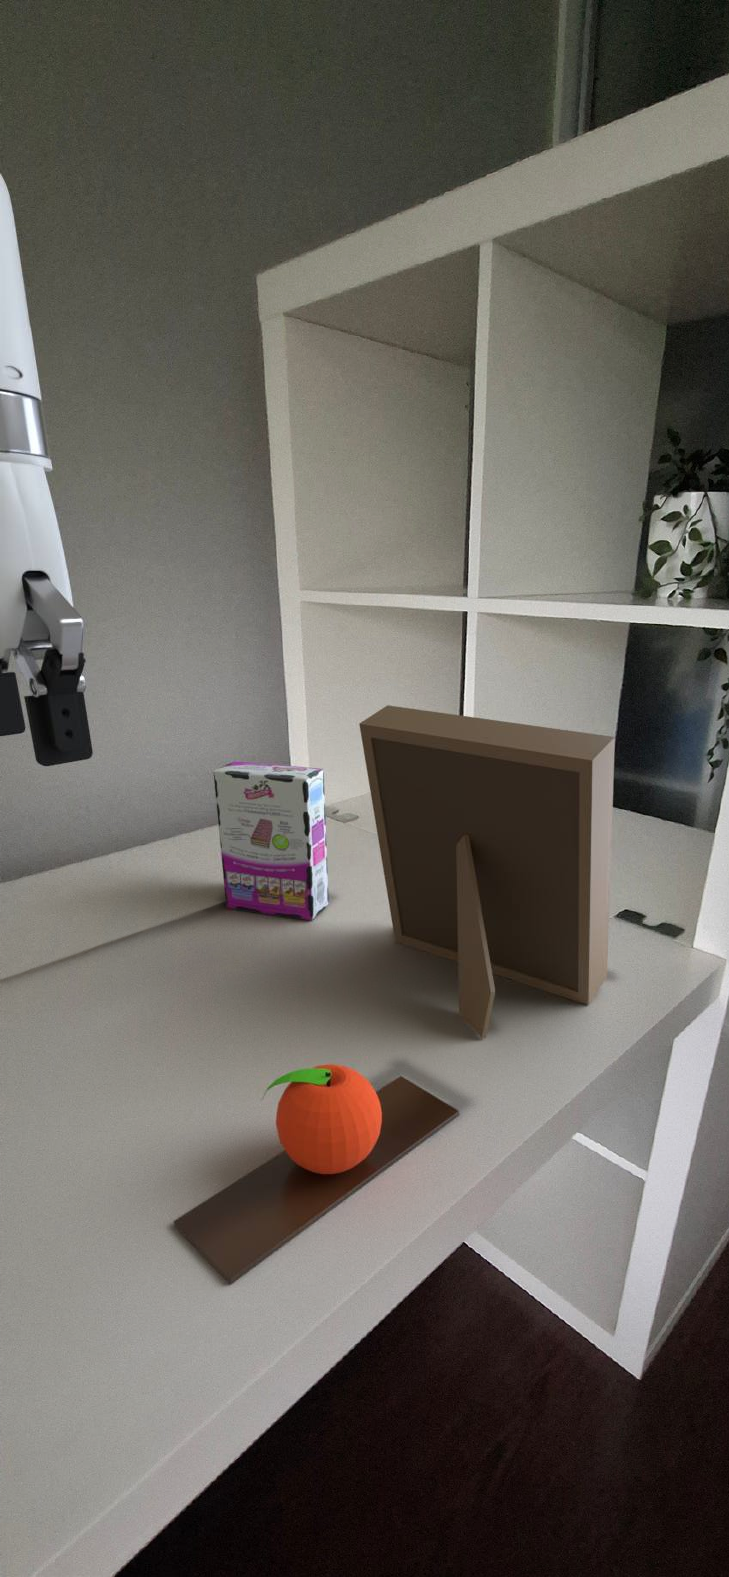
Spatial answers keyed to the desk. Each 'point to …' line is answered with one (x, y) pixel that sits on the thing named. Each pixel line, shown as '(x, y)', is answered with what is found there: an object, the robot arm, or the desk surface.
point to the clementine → (327, 1118)
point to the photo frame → (495, 848)
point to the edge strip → (304, 1187)
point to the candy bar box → (273, 838)
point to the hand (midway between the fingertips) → (31, 747)
